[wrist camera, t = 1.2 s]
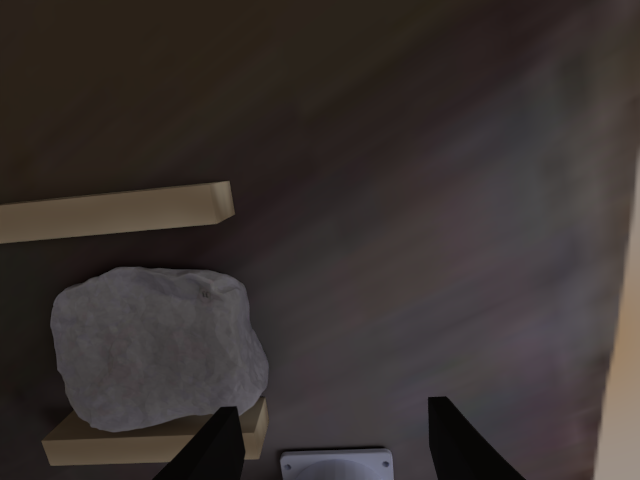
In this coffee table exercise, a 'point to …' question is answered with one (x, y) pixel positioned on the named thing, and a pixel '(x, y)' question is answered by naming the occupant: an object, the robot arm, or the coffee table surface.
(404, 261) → the coffee table surface
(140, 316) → the stone block
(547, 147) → the coffee table surface
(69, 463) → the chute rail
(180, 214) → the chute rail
